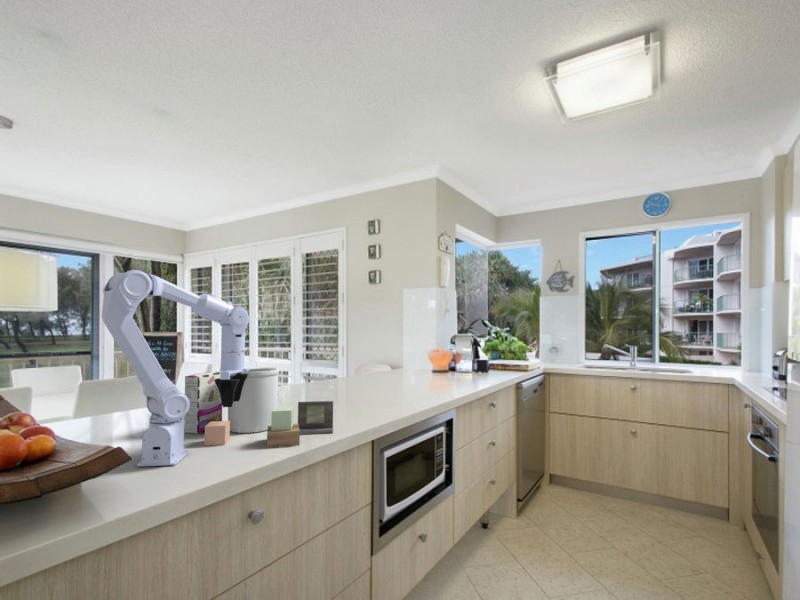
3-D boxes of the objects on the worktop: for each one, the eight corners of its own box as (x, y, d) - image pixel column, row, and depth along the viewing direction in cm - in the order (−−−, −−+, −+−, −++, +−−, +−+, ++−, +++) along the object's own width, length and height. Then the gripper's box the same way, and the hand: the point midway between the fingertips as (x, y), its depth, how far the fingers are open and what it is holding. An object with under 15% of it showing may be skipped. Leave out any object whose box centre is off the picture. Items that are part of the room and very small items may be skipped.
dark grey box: (332, 433, 118) (333, 403, 119) (296, 434, 117) (297, 404, 117) (332, 428, 124) (333, 399, 124) (298, 429, 122) (299, 400, 123)
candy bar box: (208, 424, 128) (209, 370, 129) (222, 425, 127) (223, 371, 128) (182, 433, 117) (184, 375, 118) (197, 434, 116) (199, 375, 117)
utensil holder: (217, 427, 124) (219, 368, 125) (263, 419, 135) (265, 365, 136) (238, 437, 114) (240, 373, 115) (287, 427, 124) (288, 369, 125)
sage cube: (291, 430, 107) (291, 410, 108) (271, 430, 107) (271, 411, 107) (292, 425, 112) (293, 406, 113) (273, 426, 111) (274, 407, 112)
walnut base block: (299, 446, 106) (299, 430, 107) (266, 449, 104) (267, 433, 104) (297, 438, 114) (298, 423, 114) (267, 440, 112) (267, 425, 112)
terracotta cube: (224, 445, 107) (225, 425, 107) (204, 446, 106) (204, 426, 106) (229, 439, 111) (230, 421, 112) (209, 440, 111) (210, 421, 111)
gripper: (242, 353, 102) (240, 409, 101) (254, 349, 116) (253, 398, 115) (212, 353, 101) (210, 410, 100) (228, 349, 115) (226, 399, 114)
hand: (231, 404), depth 108 cm, fingers open, 7 cm apart
